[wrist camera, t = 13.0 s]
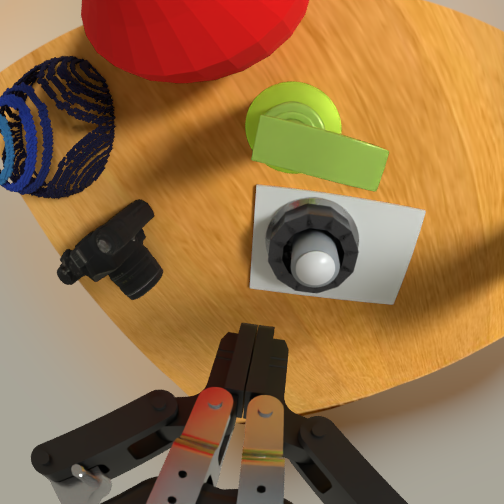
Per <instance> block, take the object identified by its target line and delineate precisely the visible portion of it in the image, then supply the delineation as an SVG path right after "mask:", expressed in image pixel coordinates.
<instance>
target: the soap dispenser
mask: <svg viewBox="0 0 504 504" xmlns="http://www.w3.org/2000/svg"><path fill="white" fill-rule="evenodd" d="M245 131H246V136H247V140H248V143H249V145H250V147H251V149H252V151H253V153H252V158H251V160H253V161H257V162H261V163H265V164H266V165H267V166H269V167H271V168H273V169H275V170H278V171H281V172H285V173H292V174H298V173H303V174H306V175H310V176H314V177H318V178H321V179H325V180H329V181H333V182H337V183H341V184H345V185H349V186H353V187H357V188H361V189H366V190H370V191H376V190H377V188H378V185H379V183H380V180H381V177H382V174H383V171H384V168H385V165H386V161H387V158H388V155H389V151H388V150H386V149H383V148H381V147H379V146H376V145H373V144H370V143H367V142H364V141H361V140H357V139H354V138H351V137H348V136H345V135H341V120H340V116H339V113H338V111H337V109H336V107H335V105H334V104H333V102H332V101H331V100H330V98H329V97H328V96H327V95H326V94H324V93H323V92H322V91H321V90H319V89H317V88H316V87H314V86H311V85H309V84H306V83H301V82H283V83H278V84H275V85H273V86H270V87H269V88H267V89H265V90H264V91H262V92H261V93H260V94H259V95H258V96H257V97H256V98H255V99H254V101H253V102H252V104H251V106H250V107H249V110H248V112H247V116H246V122H245Z"/></svg>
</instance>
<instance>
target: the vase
mask: <svg viewBox="0 0 504 504" xmlns="http://www.w3.org/2000/svg"><path fill="white" fill-rule="evenodd" d="M308 3H309V0H82V10H81V17H82V21H83V25H84V29H85V33H86V36H87V38H88V39H89V41H90V42H91V44H92V45H93V47H94V48H95V50H96V52H97V53H98V54H100V55H101V56H102V57H104V58H105V59H106V60H108V61H109V62H110V63H111V64H113V65H114V66H116V67H118V68H120V69H122V70H124V71H126V72H129V73H132V74H134V75H137V76H140V77H142V78H145V79H147V80H150V81H161V82H171V83H192V82H201V81H210V80H216V79H219V78H222V77H225V76H228V75H231V74H234V73H238V72H241V71H244V70H245V69H247V68H249V67H251V66H252V65H254V64H256V63H257V62H259V61H261V60H263V59H265V58H266V57H268V56H270V55H271V54H272V53H273V52H274V51H275V50H276V49H277V48H278V47H280V46H281V45H282V44H283V43H284V42H285V41H286V40H287V39H288V38H290V37H291V35H292V34H293V32H294V31H295V29H296V28H297V26H298V25H299V23H300V21H301V20H302V18H303V17H304V15H305V13H306V10H307V6H308Z"/></svg>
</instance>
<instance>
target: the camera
mask: <svg viewBox="0 0 504 504" xmlns="http://www.w3.org/2000/svg"><path fill="white" fill-rule="evenodd" d="M153 217H154V212H153V210H152V209H151V207H150V206H149V204H148V203H147V202H145V201H143V200H140V199H139V200H135V201H134V202H133V203H131V204H130V205H128V206H127V207H126V208H124V209H123V210H122V211H120V212H119V213H118V214H116V215H115V216H114V217H113V218H112V219H110V220H109V221H108V222H107V223H105V224H104V225H102V226H100V227H98V228H97V229H96V230H95V231H92V232H91V233H89V234H88V235H87V236H85V237H84V238H83V239H82V240H81V241H80V242H79V243H78V244H77V245H76V246H75V249H74V250H70V249H67V250H66V251H65V252H64V253H63V255H62V257H61V259H60V261H61V262H62V264H61V265H60V267H59V268H58V270H57V275H58V277H59V279H60V280H61V281H62V282H63V283H64V284H67V285H69V284H70V285H72V284H73V283H75V282H76V281H77V280H79V279H80V278H81V277H83V276H85V275H86V276H88V277H89V278H91V279H92V280H93V281H94V282H97V281H99V280H100V279H102V278H104V277H105V276H107V275H109V277H110V279H111V280H112V281H113V282H114V283H115V284H116V285H117V286H119V287H120V289H121V291H122V292H123V293H124V294H125V295H127V296H128V297H129V298H130V299H131V300H135V299H138V298H140V297H141V296H143V295H144V294H146V293H147V292H148V291H149V290H151V289H152V288H153V287H154V286H155V285H156V284H157V282H158V281H159V280H160V278H161V277H162V274H163V269H162V268H161V266H160V265H159V264H158V262H157V261H156V259H155V258H154V257H153V256H152V254H151V253H150V252H149V250H148V249H147V248H146V247H145V246H144V245H143V240H144V239H145V238H146V236H145V234H144V231H143V229H142V228H143V227H144V226H145V225H146V224H147V223H148V222H149V221H150V220H151V219H152V218H153Z"/></svg>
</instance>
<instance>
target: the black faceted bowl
mask: <svg viewBox="0 0 504 504" xmlns="http://www.w3.org/2000/svg"><path fill="white" fill-rule="evenodd" d="M308 228H314V229H321V230H327V231H329V232H330V233H331V234H333V236H334V239H335V244H336V248H337V253H338V258H339V264H340V269H339V273H338V275H337V276H336V278H335V279H334V280H333V281H332V282H330V283H329V284H327V285H325V286H322V287H307V286H304V285H302V284H300V283H299V282H298V281H297V280H296V279H295V278H294V277H293V275H292V272H291V256H292V241H293V237H294V235H295V233H297V232H300V231H303V230H306V229H308ZM265 244H266V250H267V254H268V263H269V265H270V266H271V268H272V270H273V272H274V274H275V276H276V278H277V280H279V281H281V282H282V283H284V284H285V285H287V286H288V287H290V288H292V289H293V290H295V291H301V292H309V293H320V292H324V291H327V290H330V289H333V288H336V287H339V286H340V285H341V284H342V283H343V282H344V281H345V280H346V279H347V278H348V277H349V276H350V275H351V274H352V273H353V272H354V268H355V265H356V261H357V257H358V253H359V251H358V246H359V233H358V229H357V226H356V224H355V221H354V220H353V218H352V216H351V215H350V214H349V213H348V211H347V210H346V209H344V208H343V207H342V206H341V205H339V204H338V203H336V202H334V201H331V200H328V199H325V198H320V197H305V198H300V199H297V200H294V201H292V202H289V203H288V204H286V205H284V206H283V207H282V208H281V209H279V210H278V211H277V212H276V213H275V215H274V216H273V217H272V219H271V221H270V223H269V225H268V228H267V231H266V237H265Z"/></svg>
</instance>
